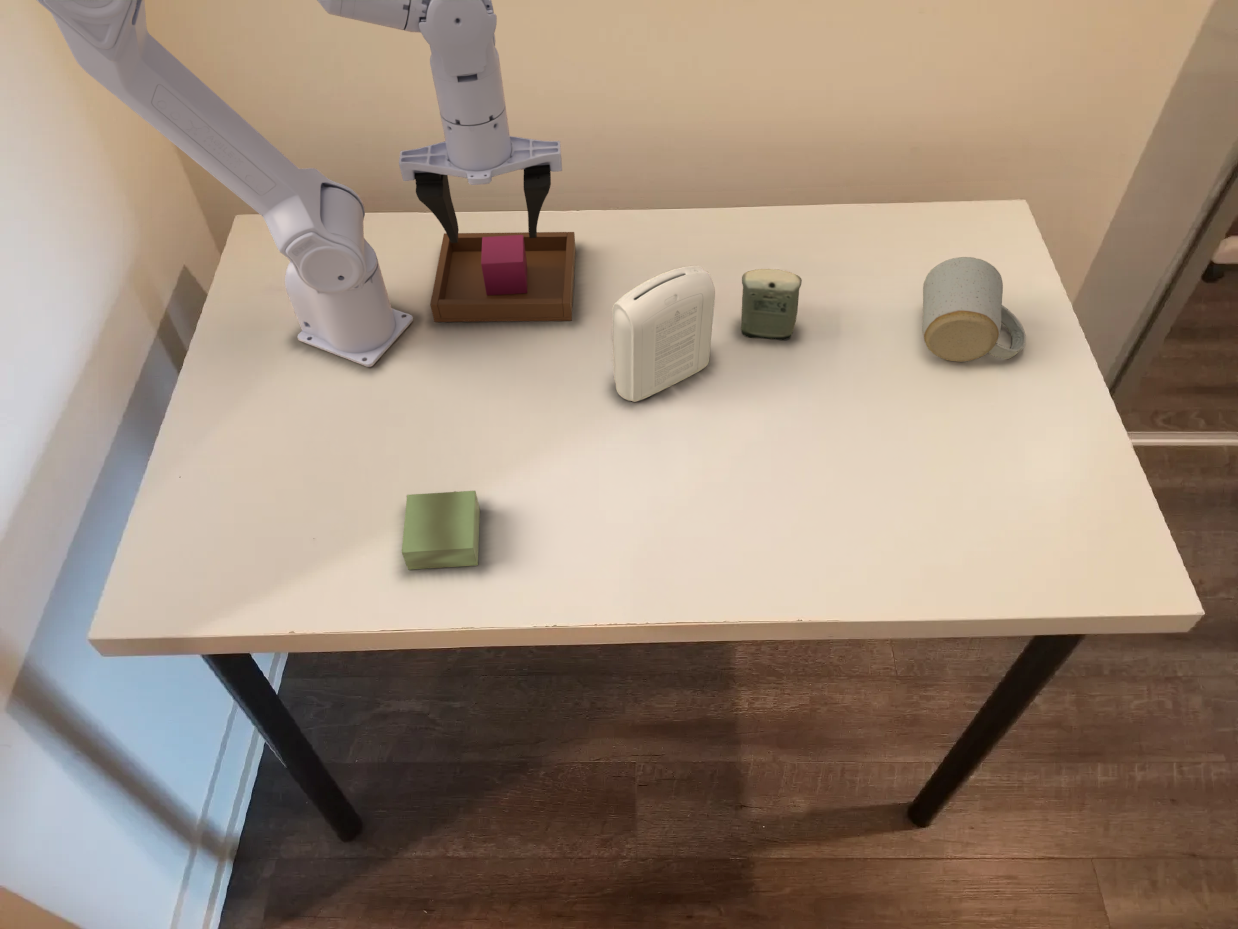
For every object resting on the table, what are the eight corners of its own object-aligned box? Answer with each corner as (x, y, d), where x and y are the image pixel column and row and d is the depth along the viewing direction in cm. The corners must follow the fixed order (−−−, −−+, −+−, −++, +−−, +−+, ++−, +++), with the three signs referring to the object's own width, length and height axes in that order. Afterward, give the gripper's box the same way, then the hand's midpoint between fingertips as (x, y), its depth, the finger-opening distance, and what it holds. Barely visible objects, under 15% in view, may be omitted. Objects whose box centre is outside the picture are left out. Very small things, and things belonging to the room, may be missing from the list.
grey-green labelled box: (751, 357, 95) (759, 298, 88) (727, 324, 98) (733, 265, 91) (800, 340, 96) (811, 280, 90) (774, 308, 99) (783, 248, 93)
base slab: (408, 570, 80) (401, 552, 78) (413, 512, 84) (406, 494, 82) (477, 565, 80) (473, 548, 78) (479, 508, 84) (475, 490, 82)
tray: (434, 322, 99) (429, 304, 97) (447, 250, 106) (443, 232, 104) (571, 320, 98) (570, 303, 96) (575, 249, 106) (574, 231, 104)
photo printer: (690, 341, 96) (695, 246, 86) (715, 366, 94) (724, 271, 84) (607, 383, 93) (602, 289, 83) (631, 410, 91) (629, 316, 81)
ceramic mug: (913, 362, 94) (934, 305, 88) (914, 306, 99) (934, 249, 92) (1022, 377, 92) (1051, 320, 86) (1018, 320, 97) (1044, 263, 91)
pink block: (486, 295, 100) (480, 263, 97) (487, 268, 103) (482, 236, 100) (527, 293, 100) (523, 261, 97) (527, 266, 103) (523, 234, 100)
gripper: (384, 139, 78) (416, 265, 89) (557, 128, 78) (569, 255, 89) (391, 92, 82) (421, 218, 93) (555, 82, 82) (566, 209, 93)
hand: (493, 233), depth 91 cm, fingers open, 7 cm apart
